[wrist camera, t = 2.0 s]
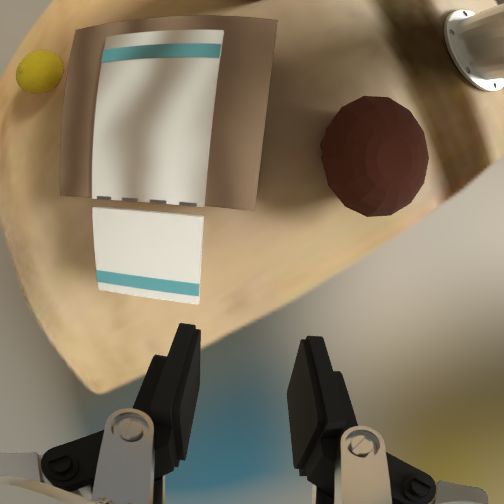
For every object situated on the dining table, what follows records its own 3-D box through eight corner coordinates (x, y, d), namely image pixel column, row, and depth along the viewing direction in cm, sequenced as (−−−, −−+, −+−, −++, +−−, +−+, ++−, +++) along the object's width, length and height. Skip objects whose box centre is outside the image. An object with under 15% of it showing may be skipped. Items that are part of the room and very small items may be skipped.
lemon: (70, 48, 26) (34, 35, 19) (78, 81, 28) (40, 73, 21) (40, 70, 27) (2, 64, 20) (47, 102, 29) (8, 101, 21)
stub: (203, 215, 24) (202, 217, 24) (199, 301, 27) (198, 305, 26) (94, 206, 24) (91, 207, 23) (100, 287, 27) (98, 290, 26)
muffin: (318, 92, 29) (343, 74, 20) (406, 116, 30) (454, 113, 20) (302, 194, 33) (320, 216, 24) (389, 210, 34) (429, 236, 25)
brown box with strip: (271, 52, 28) (278, 17, 18) (254, 190, 33) (254, 212, 23) (118, 52, 27) (72, 28, 17) (106, 179, 33) (56, 197, 23)
